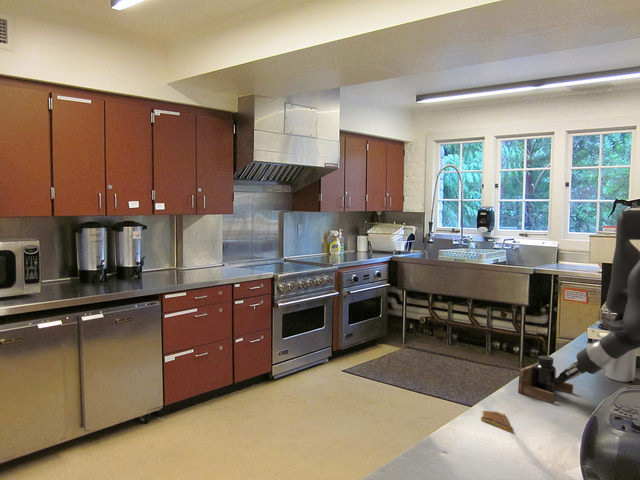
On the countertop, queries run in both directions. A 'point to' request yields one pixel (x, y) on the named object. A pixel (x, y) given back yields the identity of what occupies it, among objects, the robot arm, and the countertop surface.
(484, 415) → the shard
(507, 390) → the countertop surface
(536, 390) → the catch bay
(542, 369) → the supplement bottle
